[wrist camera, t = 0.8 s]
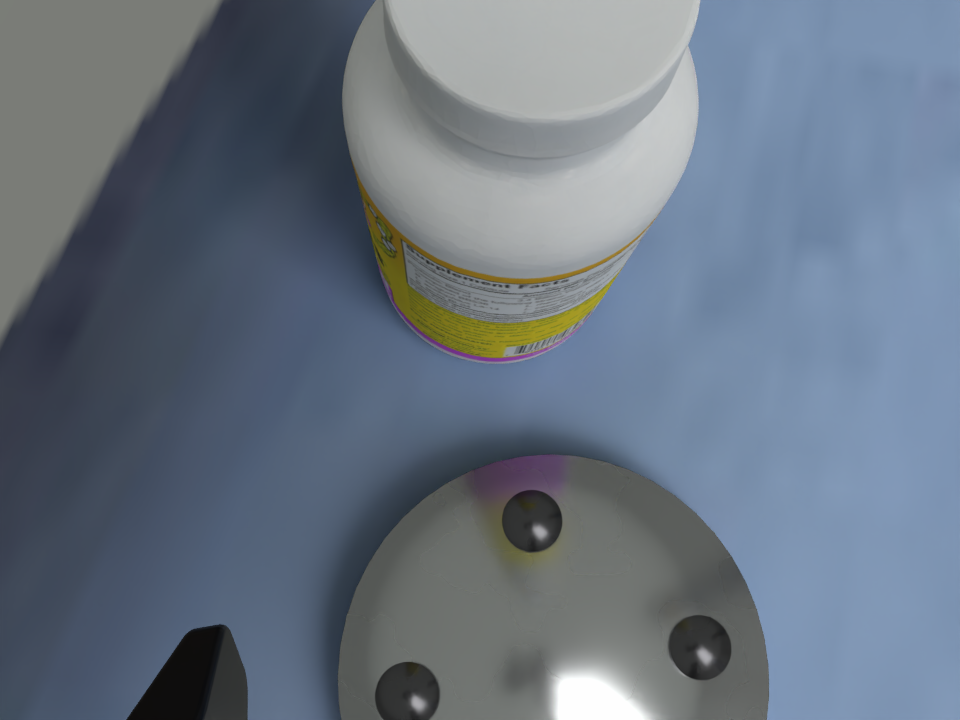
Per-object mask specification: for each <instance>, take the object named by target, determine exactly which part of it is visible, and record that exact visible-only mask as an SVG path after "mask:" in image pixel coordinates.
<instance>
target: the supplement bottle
mask: <svg viewBox="0 0 960 720" xmlns="http://www.w3.org/2000/svg"><path fill="white" fill-rule="evenodd" d="M699 5H700V0H376V1H375V2H374V4H373V5H372V6H371V8H370V9H369V11H368V13H367V14H366V16H365V18H364V19H363V21H362V23H361V25H360V27H359V29H358V31H357V33H356V36H355V38H354V41H353V43H352V46H351V49H350V52H349V55H348V59H347V63H346V68H345V73H344V80H343V91H342V108H343V120H344V128H345V133H346V137H347V142H348V147H349V152H350V156H351V160H352V164H353V167H354V171H355V174H356V178H357V182H358V186H359V190H360V194H361V198H362V202H363V206H364V210H365V215H366V219H367V223H368V227H369V232H370V235H371V239H372V243H373V247H374V251H375V255H376V259H377V263H378V268H379V271H380V274H381V277H382V281H383V284H384V286H385V289H386V291H387V293H388V296H389V298H390V300H391V302H392V304H393V306H394V308H395V309H396V311H397V312H398V314H399V315H400V316H401V318H402V319H403V320H404V322H405V323H406V324H407V325H408V326H409V327H410V328H411V329H412V330H413V331H414V332H415V333H416V334H417V335H418V336H419V337H421V338H422V339H423V340H424V341H426V342H427V343H429V344H430V345H432V346H433V347H435V348H437V349H439V350H441V351H443V352H444V353H447V354H449V355H451V356H454V357H457V358H461V359H464V360H469V361H474V362H479V363H489V364H504V363H512V362H519V361H523V360H527V359H530V358H534V357H536V356H539V355H541V354H544V353H546V352H547V351H549V350H551V349H553V348H555V347H557V346H558V345H560V344H561V343H563V342H564V341H566V340H567V339H568V338H569V337H570V336H572V335H573V334H574V333H575V332H576V331H577V330H578V329H579V328H580V327H581V326H582V325H583V324H584V322H585V321H586V320H587V319H588V318H589V316H590V315H591V314H592V312H593V311H594V310H595V308H596V307H597V305H598V304H599V302H600V301H601V299H602V298H603V296H604V295H605V293H606V292H607V290H608V289H609V287H610V286H611V284H612V283H613V281H614V280H615V278H616V277H617V275H618V274H619V272H620V271H621V269H622V268H623V266H624V265H625V263H626V262H627V260H628V258H629V257H630V255H631V254H632V252H633V251H634V249H635V248H636V246H637V245H638V244H639V242H640V241H641V239H642V238H643V236H644V235H645V233H646V232H647V230H648V229H649V227H650V226H651V224H652V223H653V221H654V220H655V219H656V217H657V216H658V215H659V213H660V212H661V210H662V209H663V207H664V205H665V204H666V202H667V201H668V199H669V198H670V196H671V195H672V193H673V191H674V190H675V188H676V186H677V184H678V182H679V180H680V178H681V176H682V174H683V172H684V170H685V168H686V166H687V163H688V160H689V157H690V154H691V151H692V148H693V144H694V140H695V134H696V129H697V122H698V88H697V77H696V73H695V68H694V63H693V60H692V56H691V53H690V50H689V47H688V43H689V41H690V39H691V36H692V34H693V31H694V28H695V24H696V21H697V17H698V11H699Z"/></svg>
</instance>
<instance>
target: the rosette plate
mask: <svg viewBox="0 0 960 720" xmlns="http://www.w3.org/2000/svg"><path fill="white" fill-rule="evenodd" d="M338 692H339V709H340V715H341V720H767V711H768V701H769V672H768V660H767V653H766V646H765V639H764V635H763V631H762V627H761V624H760V620H759V616H758V612H757V609H756V606H755V604H754V601H753V599H752V596H751V594H750V591H749V589H748V587H747V584H746V582H745V580H744V578H743V576H742V574H741V573H740V571H739V569H738V567H737V565H736V564H735V562H734V560H733V558H732V557H731V555H730V554H729V552H728V551H727V550H726V548H725V547H724V545H723V544H722V543H721V541H720V540H719V539H718V537H717V536H716V534H715V533H714V532H713V531H712V530H711V529H710V528H709V527H708V526H707V525H706V524H705V523H704V521H703V520H702V519H701V518H700V517H699V516H698V515H697V514H696V513H695V512H694V511H693V510H691V509H690V508H689V507H688V506H687V505H685V504H684V503H683V502H682V501H681V500H679V499H678V498H677V497H676V496H675V495H673V494H671V493H670V492H668V491H667V490H665V489H664V488H662V487H661V486H659V485H657V484H656V483H654V482H653V481H651V480H649V479H647V478H645V477H643V476H641V475H638V474H636V473H634V472H632V471H630V470H628V469H625V468H622V467H619V466H616V465H613V464H610V463H607V462H604V461H600V460H595V459H589V458H584V457H579V456H568V455H550V454H548V455H535V456H522V457H517V458H513V459H508V460H503V461H498V462H495V463H492V464H489V465H486V466H483V467H480V468H478V469H475V470H472V471H470V472H468V473H466V474H464V475H462V476H460V477H458V478H456V479H454V480H452V481H450V482H448V483H446V484H445V485H443V486H442V487H440V488H439V489H437V490H436V491H435V492H433V493H432V494H430V495H429V496H427V497H426V498H424V499H423V500H422V501H421V502H420V503H419V504H418V505H416V506H415V507H414V508H413V509H412V510H411V511H410V512H409V513H408V514H406V515H405V516H404V517H403V518H402V519H401V520H400V522H399V523H398V524H397V525H396V526H395V527H394V529H393V530H392V531H391V532H390V533H389V534H388V536H387V537H386V538H385V539H384V541H383V542H382V544H381V545H380V547H379V548H378V550H377V551H376V553H375V554H374V556H373V557H372V559H371V560H370V562H369V564H368V566H367V568H366V570H365V572H364V574H363V576H362V578H361V580H360V582H359V584H358V586H357V588H356V590H355V593H354V596H353V599H352V602H351V605H350V608H349V611H348V614H347V617H346V621H345V626H344V631H343V636H342V640H341V645H340V656H339V668H338Z"/></svg>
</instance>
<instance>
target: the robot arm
mask: <svg viewBox="0 0 960 720" xmlns="http://www.w3.org/2000/svg"><path fill="white" fill-rule="evenodd" d="M247 709H248V690H247V679H246V673H245V669H244V666H243V664H242V661H241V658H240V656H239V653H238V650H237V647H236V645H235V642H234V639H233V637H232V634H231V632H230V630H229V628H228V627H227V626H226V625H221V624H219V625H213V626H207V627H202V628H196V629H193V630H191V631H189V632H188V633H187V634H186V635H185V636H184V637H183V639H182V640H181V642H180V643H179V645H178V646H177V647H176V649H175V650H174V652H173V653H172V655H171V656H170V658H169V659H168V660H167V662H166V663H165V665H164V666H163V668H162V669H161V671H160V672H159V673H158V675H157V676H156V678H155V679H154V681H153V682H152V684H151V685H150V686H149V688H148V689H147V691H146V692H145V694H144V695H143V696H142V698H141V699H140V701H139V702H138V704H137V705H136V707H135V708H134V709H133V711H132V712H131V714H130V715H129V717H128V718H127V720H247Z"/></svg>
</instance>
